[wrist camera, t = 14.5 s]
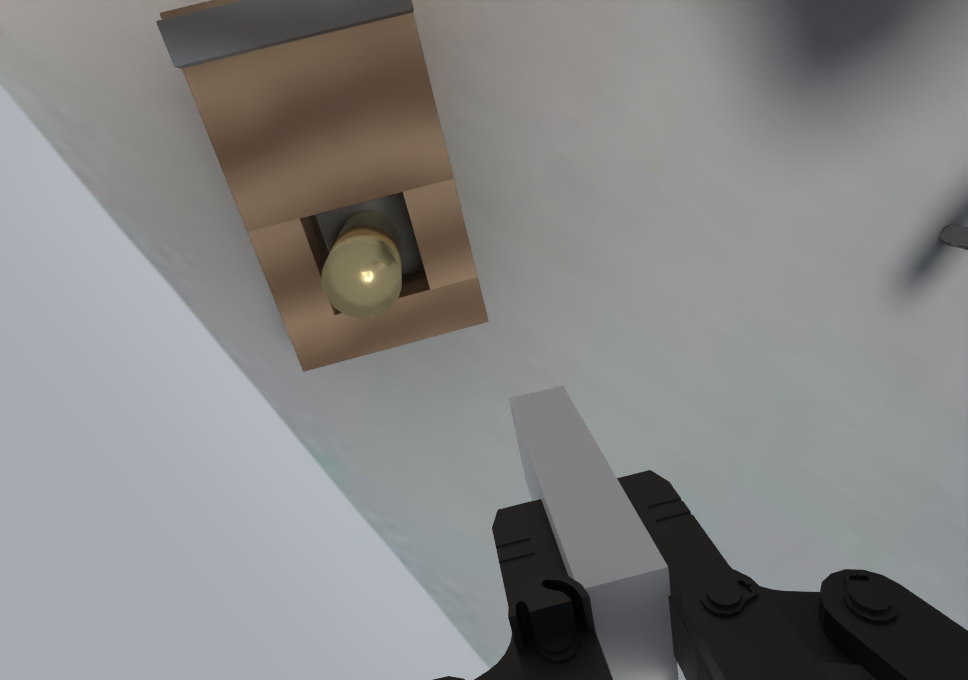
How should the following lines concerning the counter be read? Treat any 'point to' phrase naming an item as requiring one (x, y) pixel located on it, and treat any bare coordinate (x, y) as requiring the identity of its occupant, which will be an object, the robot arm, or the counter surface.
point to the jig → (329, 154)
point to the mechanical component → (955, 236)
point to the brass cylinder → (364, 266)
